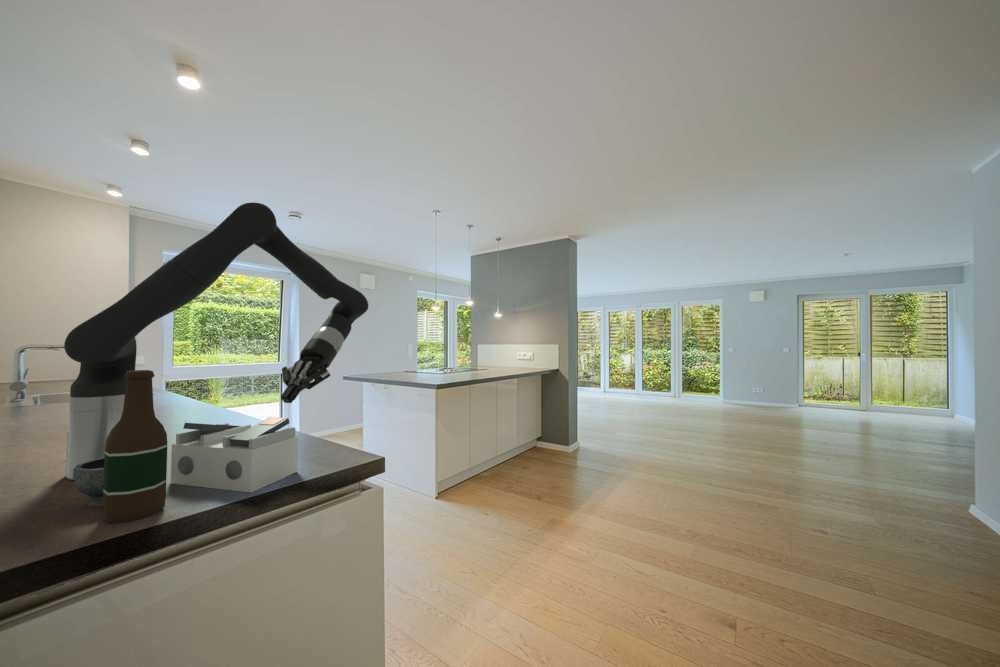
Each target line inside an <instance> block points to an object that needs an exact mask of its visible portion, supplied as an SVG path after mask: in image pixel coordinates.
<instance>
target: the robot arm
mask: <svg viewBox="0 0 1000 667" xmlns="http://www.w3.org/2000/svg"><path fill="white" fill-rule="evenodd" d="M277 223H278V222H277V219H276V216H275V213H274V212H273V210H272V209H271V208H270V207H269V206H267V205H266V204H264V203H261V202H259V201H258V202H257V201H250V202H245V203H241V204H240V205H239V206H237V207H236V209H234V210H233V211H232V212H231V213H230V214H229V215H228V216H227V217H226V218H225V219H224V220H223V221H222V222H221V223H220V224H219V225H217V226H216V227H215V228H214V229H213V230H212V231H211V232H209V233H208V234H206V235H205V236H204V237H202V238H201V239H198V240H197V241H195V242H194V243H192V244H191V245H190V246H188V247H186V248H185V249H184V250H182V251H181V252H179V253H178V254H176V255H175V256H173V257H172V258H171V259H170V260H168V261H167V262H166V263H164V264H163V265H161V266H160V267H159V268H158V269H156V270H155V271H153V273H151V274H150V275H149V276H148V277H147V278H145V279H144V280H142V281H141V282H140V283H138V284H137V285H136V286H134V288H133V289H131V290H130V291H128V292H127V293H126V294H125V295H124V296H123V297H122V298H120V299H119V300H118V301H116V302H115V303H113V304H112V305H110V306H108V307H107V308H105V309H103V310H102V311H100V312H99V313H97V314H96V315H93V316H92V317H90V318H88V319H87V320H85V321H83V322H82V323H80V324H78V325H77V326H76V327H74V328H73V329H71V331H70V332H69V333H68V334H67V335H66V338H65V340H64V344H63V345H64V352H65V353H66V356H68V357H69V358H70V359H71V360H73V361H75V362H77V363H80V367H79V374H78V375H77V377H76V378H75V380H74V381H73V382H72V383H71V385H70V390H69V393H70V394H69V419H68V431H67V433H66V451H65V452H66V453H65V476H66V479H68V480H70V481H71V480H73V481H74V479H73V469H74V468H75V467H76V466H77V465H78V464H82V463H85V462H88V461H92V460H96V459H101V458H104V456H105V445H106V439H107V437H108V435H109V433H110V431H111V430H112V428H113V427H114V426H115V425H116V424H117V423H118V422H119V421H120V419H121V415H122V412H123V406H124V398H125V390H126V381H127V379H126V378H125V377H124V376H125V374H126V372H128V371H133V370H136V366H137V365H136V362H137V350H138V349H137V340H136V337H137V336H138V335H139V334H140V333H141V332H143V330H144V329H146V328H147V327H148V326H150V325H151V324H152V323H154V322H155V321H157V320H159V319H161V318H163V317H165V316H167V315H169V314H170V313H171V314H172V313H173V312H174V311H176V310H179V309H180V308H182V307H184V306H186V305H188V304H189V303H191V302H192V301H194V300H195V299H197V297H198V296H200V295H201V294H202V293H204V292H205V291H206V290H207V289H208V288H209V287H211V286H212V285H213V284H214V283H215V282H216V281H217V280H218V279H219V278H220V276H222V275H223V273H225V271H226V269H228V268H229V266H230V265H231V264H232V262H233V261H234V260H235V259H236V258H237V257H238V256H240V255H241V254H242V253H243V252H244V251H246V250H248V248H250V247H252V246H253V245H256V247H259V248H261V249H262V250H263V251H265V252H266V253H267V254H269V255H270V256H272V257H273V258H275V259H276V261H278V262H280V263H281V264H283V266H284V267H286V268H287V269H288V270H289V271H290V272H291V273H292V274H293V275H295V277H296V278H298V279H299V280H300V281H301V282H302V283H304V284H305V286H306V287H308V288H309V289H310V290H311V291H312V292H314V294H316V295H317V296H318V297H319V298H321V299H323V300H328V299H335V300H337V301H338V302H337V303H336V304H335V305H334V306H333V308H332V309H331V311H330V313H329V315H328V317H327V318H326V320H325V321H324V322H323V323H322V325H321V326H320V327H319V328H318V330H316V331H315V332H314V334H313V335H312V336H311V337H310V339H309V340H308V342H307V343H306V344H305V345H304V346H303V348H302V350H301V351H300V354H299V359H298V360H297V361H295V362H294V363H293V365H292V366H290V367H287V366H283V367H282V368H281V372H282V373H281V375H282V382H283V383H284V385H285V386H286V388H285V390H284V391H283V392H282V394H281V395H280V399H281V401H282V402H284V403H285V404H292V403H293V402H294V401H295V400H296V399H297V397H298V396H299V394H300V393H301V392H303V391H304V390H305V389H307V390H311V389H312V388H314V387H315V386H317V385H319V384H320V383H322V382H323V381H325V380H326V379H328V378H330V377H331V373H330V372H329V370H328V368H329V367H330V366H331V364H332V363H333V361H334V359H335V358H336V356H337V354H338V353H339V352H340V350H341V349H342V346H343V345H344V343H345V341H346V339H347V338H348V336H349V335H350V333H351V331H352V325H353V323H354V322H355V321H356V320H357V319H358V318H361V316H363V315H364V314H365V313H366V312H367V311H368V309H369V301H368V299H367V297H366V296H365V295H364V294H363V293H362V292H361V291H360V290H358V289H356V288H354V287H352V286H351V285H349V284H347V283H345V282H343V281H341V280H340V279H338V278H337V276H335V275H334V274H333V273H332V272H330V271H329V270H328V269H327V268H326V267H325V266H324V265H322V264H321V263H320V262H319V261H318V260H316V258H313V257H312V256H311V255H309V254H308V253H306V252H305V251H304V250H302V249H301V248H299V246H297V245H296V244H295V243H294V242H293V241H292V240H290V238H288V236H287V235H286V234H285V233H284V232H283V231H282V230H281V228H280V227H279V226H278V224H277Z"/></svg>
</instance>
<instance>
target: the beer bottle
mask: <svg viewBox="0 0 1000 667" xmlns="http://www.w3.org/2000/svg"><path fill="white" fill-rule="evenodd" d="M124 377H125V378H126V379H127V381H126V390H125V398H124V406H123V412H122V415H121V419H120V421H119V422H118V423H117V424H116V425H115V426H114V427H113V428H112V430H111V431H110V433H109V435H108V437H107V439H106V445H105V456H104V482H103V506H102V517H103V519H104V520H105V521H106V522H107V523H108V524H115V523H117V524H118V523H131V522H133V521H134V522H135V521H137V520H140V519H145V518H147V517H151V516H153V515H155V514H156V513H158V512H160V511H162V510H163V509H164V508H165V506H166V498H167V496H166V495H167V474H168V473H167V471H168V469H167V468H168V466H167V465H168V435H167V431H166V429H165V427H164V425H163V424H162V423H161V421H160V420H159V419H158V418H157V417H156V415H155V410H154V408H155V407H154V390H153V378H155V372H154V370H150V369H140V370H139V369H138V370H137V369H135V370H133V371H128V372H126V374H125V376H124Z"/></svg>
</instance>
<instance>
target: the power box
mask: <svg viewBox="0 0 1000 667" xmlns="http://www.w3.org/2000/svg"><path fill="white" fill-rule="evenodd" d="M219 425H230V424H229V423H228V422H227V423H219ZM240 426H241V427H236V428H232V429H227V430H223V431H212V430H195V429H191V430H188V431H183V432H179V433H175V434H176V435H175V442H174V443H172V444H171V455H170V456H171V458H170V459H171V460H170V462H171V463H170V484H172V485H179V486H181V485H182V486H189V487H190V486H191V487H198V488H207V489H208V488H209V489H216V490H225V491H226V490H227V491H235V492H243V493H252V492H255V491H257V490H260V489H262V488H264V487H267V486H269V485H271V484H274V483H276V482H279V481H281V480H283V479H286V478H287V476H288V477H290V476H292V475H294V474H293V473H295V472H297V473H298V471H299V470H298V468H299V466H298V465H299V464H298V463H299V436H298V435H296V427H288V428H285V429H282V430H281V429H280V430H277V431H276V432H274V433H270V434H266V435H263V436H259V437H255V438H252V439H249V446H244V445H231V442H230V439H231V438H233V437H234V436H236V435H238V434H240V433H242V432H244V431H245V430H247V429H249V428H251V427H252V424H246V425H240ZM291 474H292V475H291ZM295 474H296V473H295ZM289 475H290V476H289ZM285 477H286V478H285Z"/></svg>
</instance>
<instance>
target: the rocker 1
mask: <svg viewBox="0 0 1000 667" xmlns="http://www.w3.org/2000/svg"><path fill="white" fill-rule="evenodd" d="M241 426H242V425H234V424H233V425H230V424H229V425H220V423H218V424H213V423H212V424H209V423H198V422H197V423H196V422H195V423H193V422H184V425H183V429H185V430H212V431H223V430H227V429H232V428H236V427H241Z"/></svg>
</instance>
